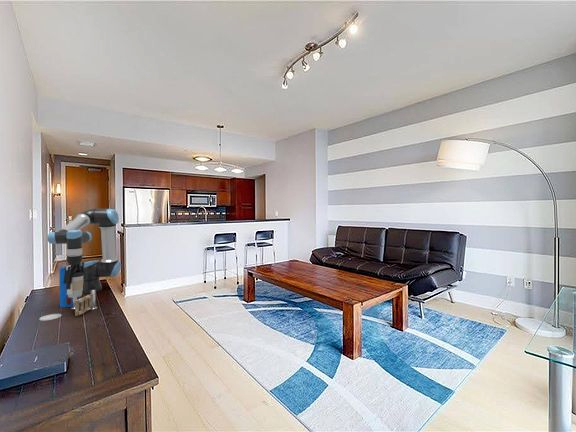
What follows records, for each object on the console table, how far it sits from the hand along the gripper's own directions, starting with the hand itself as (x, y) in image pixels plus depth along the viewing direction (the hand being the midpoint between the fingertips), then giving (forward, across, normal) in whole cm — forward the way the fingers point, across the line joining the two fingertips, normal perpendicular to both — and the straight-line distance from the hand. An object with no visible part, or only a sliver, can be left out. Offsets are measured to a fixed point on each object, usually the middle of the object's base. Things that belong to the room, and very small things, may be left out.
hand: (75, 291), depth 176 cm
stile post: (+13, -8, -6) cm, 17 cm away
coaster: (+13, +8, -9) cm, 17 cm away
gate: (+12, +1, +6) cm, 13 cm away
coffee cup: (+3, 0, 0) cm, 3 cm away
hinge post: (+13, -7, +6) cm, 16 cm away
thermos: (+14, -15, -14) cm, 25 cm away
